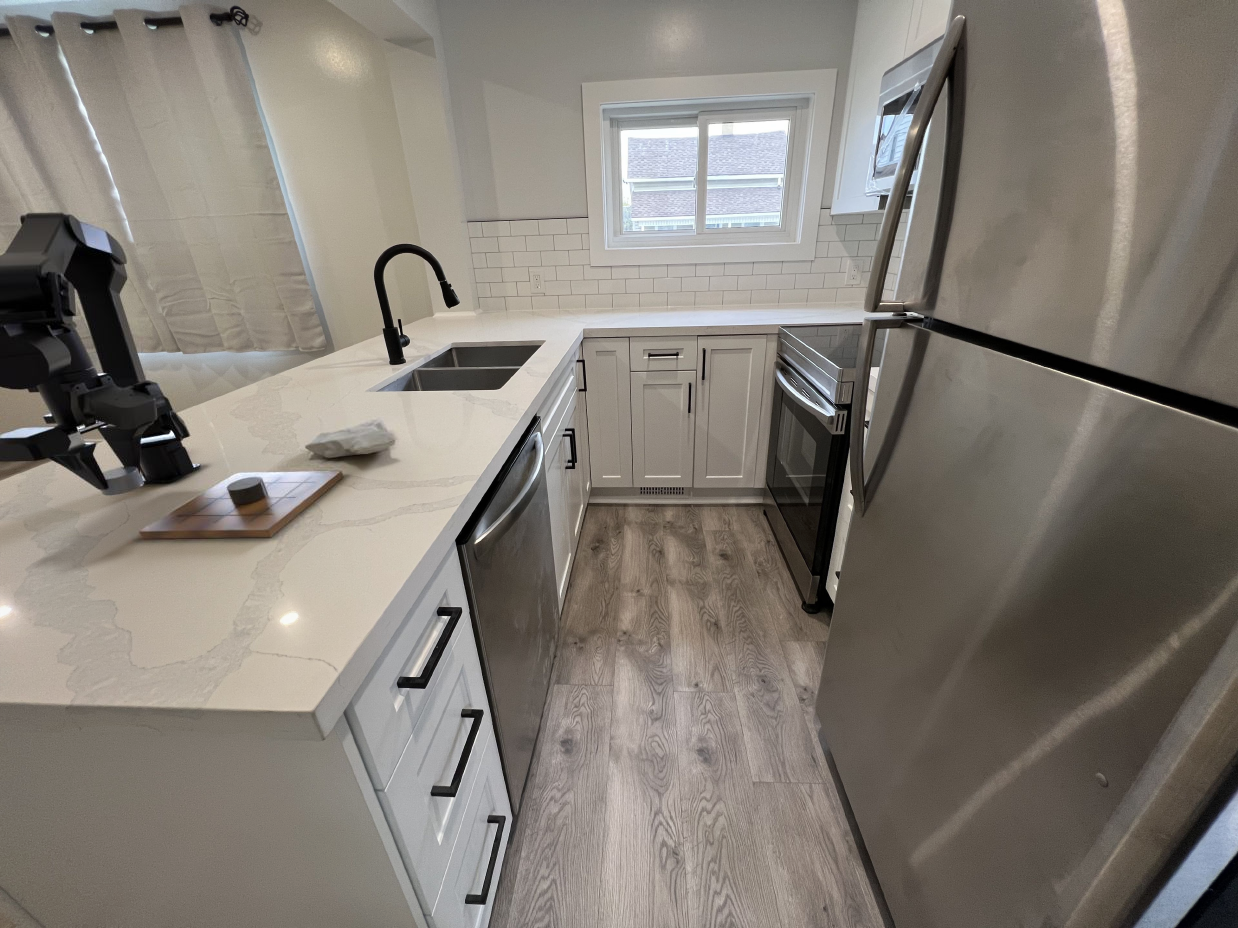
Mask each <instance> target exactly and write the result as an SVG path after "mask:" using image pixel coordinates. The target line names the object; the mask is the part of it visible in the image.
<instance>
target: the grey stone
mask: <svg viewBox="0 0 1238 928" xmlns="http://www.w3.org/2000/svg"><path fill="white" fill-rule="evenodd" d="M102 473H103V475H104V477H105V479H106V482H107V485H108V489H106V490H100V492H101V494H102V495H103V496H109V497H110V496H117V495H123V494H126V493H130V492H132V491H135V490H138V489H140V488H141V487H143V486H145V483H144V481H143V479H142V474H141V472H140V473H139V471H138V469H137V467H135V466H127V467H124V466H120V467H116V468H112V469H108V470H106V471H102Z"/></svg>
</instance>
